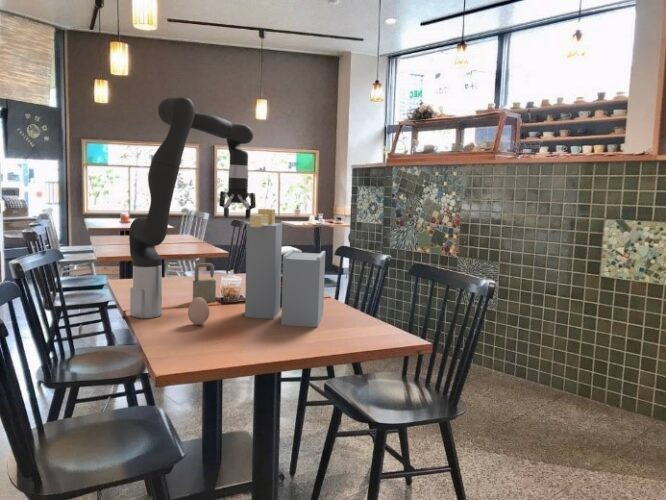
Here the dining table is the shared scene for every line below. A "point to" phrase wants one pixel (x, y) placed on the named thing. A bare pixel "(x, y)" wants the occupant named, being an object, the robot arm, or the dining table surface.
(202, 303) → the egg
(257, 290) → the slate post and ledge
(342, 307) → the dining table surface
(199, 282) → the padlock
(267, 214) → the brass stop bar
